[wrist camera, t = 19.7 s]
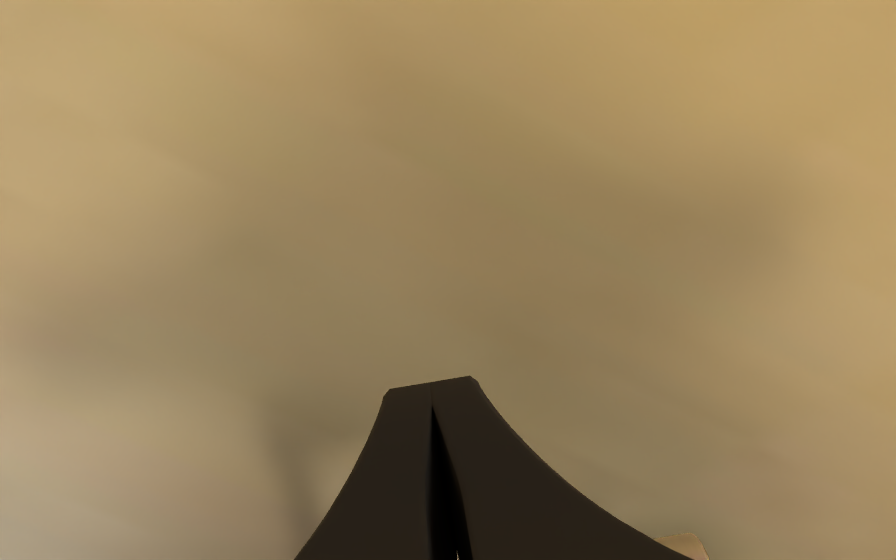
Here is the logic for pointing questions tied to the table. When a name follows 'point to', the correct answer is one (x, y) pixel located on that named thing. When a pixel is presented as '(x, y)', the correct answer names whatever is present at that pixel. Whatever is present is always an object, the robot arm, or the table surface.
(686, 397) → the table surface
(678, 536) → the drawer
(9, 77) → the table surface
